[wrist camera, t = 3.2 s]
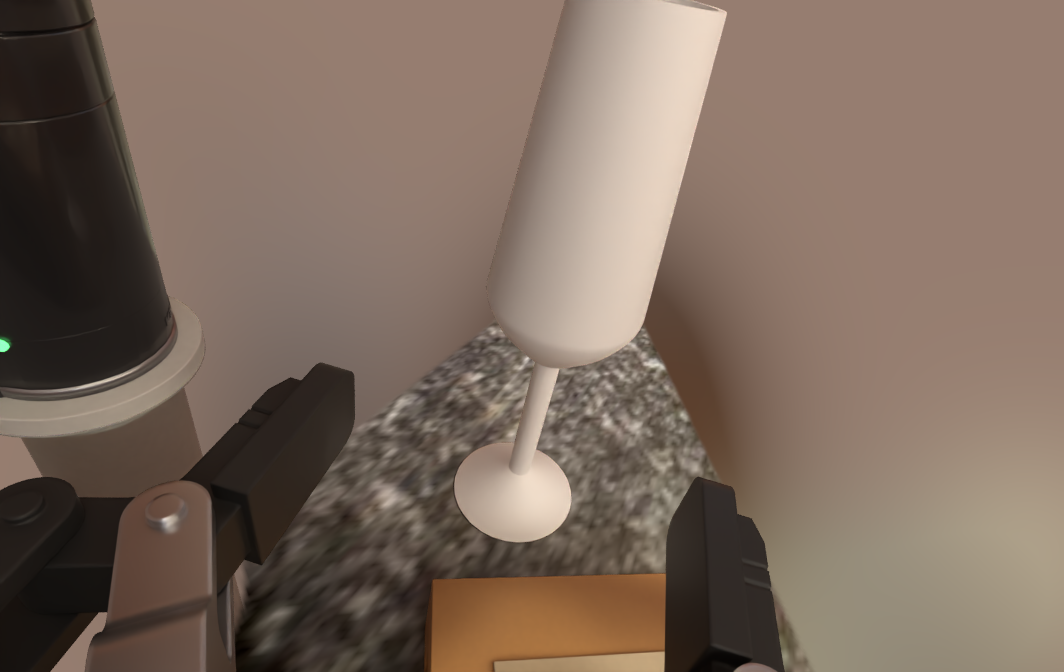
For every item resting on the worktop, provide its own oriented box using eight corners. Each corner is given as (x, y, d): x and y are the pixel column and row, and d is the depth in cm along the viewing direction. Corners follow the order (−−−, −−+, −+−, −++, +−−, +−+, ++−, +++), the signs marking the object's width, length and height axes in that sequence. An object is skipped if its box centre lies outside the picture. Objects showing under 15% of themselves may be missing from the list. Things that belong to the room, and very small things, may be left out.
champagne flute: (467, 432, 33) (548, -37, 19) (574, 454, 33) (735, 8, 19) (440, 528, 27) (526, -29, 13) (568, 554, 28) (789, 34, 13)
